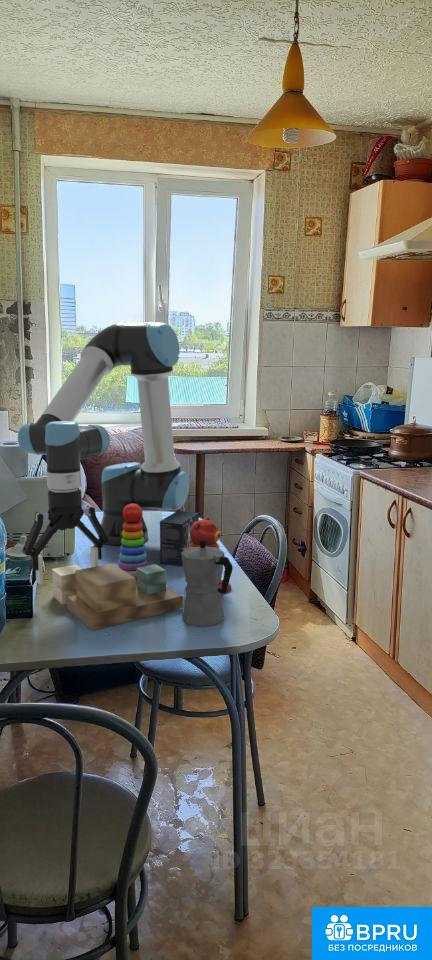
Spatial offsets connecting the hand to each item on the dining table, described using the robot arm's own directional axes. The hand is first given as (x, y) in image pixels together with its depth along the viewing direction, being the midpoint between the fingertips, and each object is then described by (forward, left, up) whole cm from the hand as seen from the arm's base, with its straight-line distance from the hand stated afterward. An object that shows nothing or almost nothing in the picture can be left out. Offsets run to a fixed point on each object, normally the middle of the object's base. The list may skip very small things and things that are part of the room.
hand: (68, 578), depth 163 cm
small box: (-37, -12, -5) cm, 40 cm away
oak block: (0, 0, -5) cm, 5 cm away
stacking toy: (-20, -7, -5) cm, 22 cm away
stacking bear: (-29, +14, -5) cm, 33 cm away
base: (-8, +13, -5) cm, 16 cm away
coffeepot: (-20, +29, -5) cm, 36 cm away
